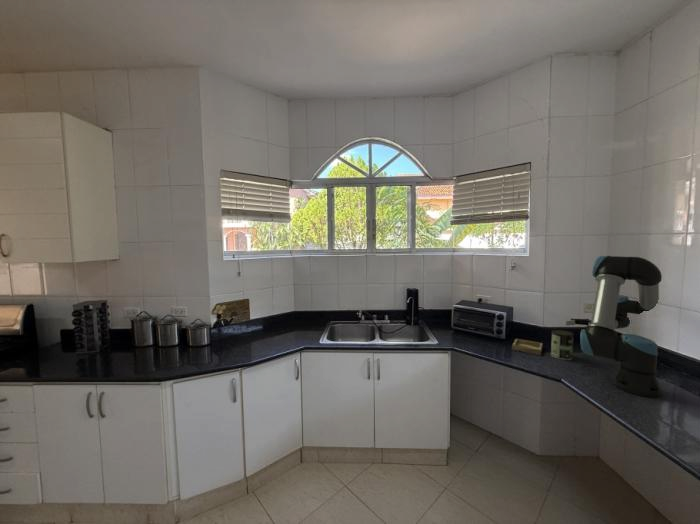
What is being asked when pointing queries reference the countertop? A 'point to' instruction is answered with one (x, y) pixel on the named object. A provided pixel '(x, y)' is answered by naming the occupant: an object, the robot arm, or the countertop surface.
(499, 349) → the countertop surface
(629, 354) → the robot arm
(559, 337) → the coffee can
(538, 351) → the oak bay tray
